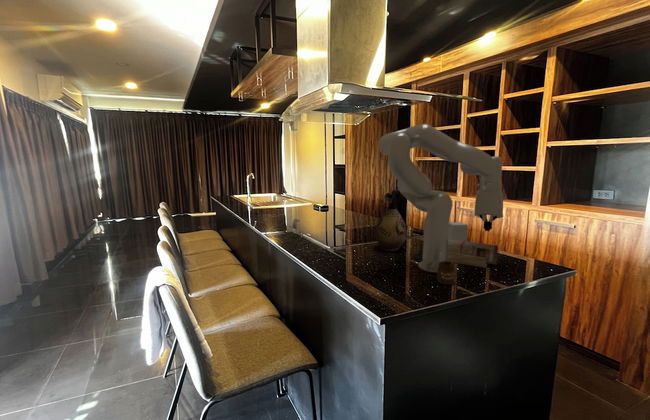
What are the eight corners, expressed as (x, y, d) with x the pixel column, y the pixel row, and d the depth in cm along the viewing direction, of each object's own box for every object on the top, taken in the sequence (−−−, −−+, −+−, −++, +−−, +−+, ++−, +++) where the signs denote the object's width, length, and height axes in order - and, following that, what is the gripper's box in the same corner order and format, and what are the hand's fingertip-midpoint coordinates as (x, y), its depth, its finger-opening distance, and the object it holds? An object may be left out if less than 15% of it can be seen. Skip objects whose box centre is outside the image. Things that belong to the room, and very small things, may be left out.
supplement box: (467, 250, 154) (468, 224, 152) (451, 250, 154) (452, 224, 153) (460, 246, 162) (462, 221, 160) (446, 246, 162) (447, 222, 160)
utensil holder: (434, 279, 117) (435, 247, 115) (450, 278, 117) (452, 247, 115) (441, 285, 111) (442, 252, 109) (458, 284, 111) (459, 251, 110)
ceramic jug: (398, 255, 148) (399, 191, 143) (369, 250, 157) (369, 190, 153) (412, 247, 161) (413, 188, 157) (385, 242, 170) (385, 187, 166)
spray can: (494, 269, 128) (444, 259, 140) (498, 259, 134) (449, 251, 146) (495, 251, 125) (444, 242, 137) (499, 242, 131) (449, 234, 143)
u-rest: (485, 267, 128) (485, 258, 128) (430, 259, 141) (431, 250, 140) (490, 259, 139) (491, 250, 138) (439, 251, 152) (439, 243, 151)
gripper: (468, 187, 131) (466, 230, 134) (510, 188, 122) (506, 234, 125) (472, 185, 137) (470, 227, 140) (512, 187, 128) (508, 231, 131)
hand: (487, 230), depth 132 cm, fingers closed
